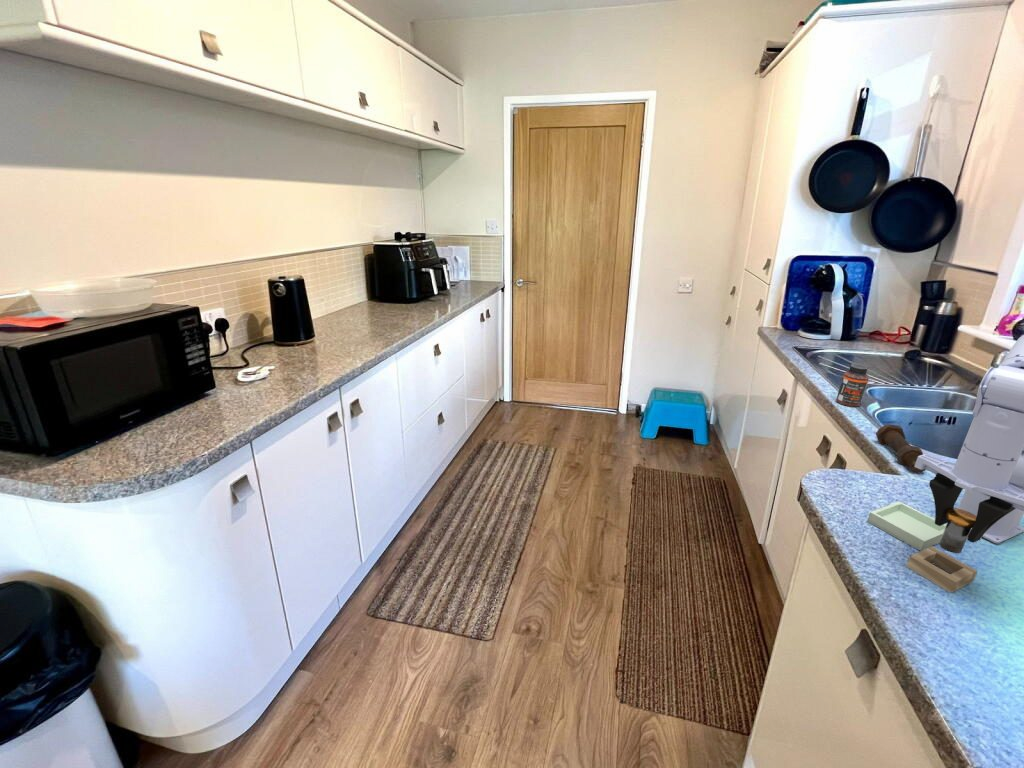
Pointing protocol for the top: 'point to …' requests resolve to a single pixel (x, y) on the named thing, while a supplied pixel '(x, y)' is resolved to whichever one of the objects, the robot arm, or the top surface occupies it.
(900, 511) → the parts tray
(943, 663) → the top surface
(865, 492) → the top surface
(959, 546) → the pin
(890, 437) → the bolt
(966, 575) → the collar block
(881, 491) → the top surface
